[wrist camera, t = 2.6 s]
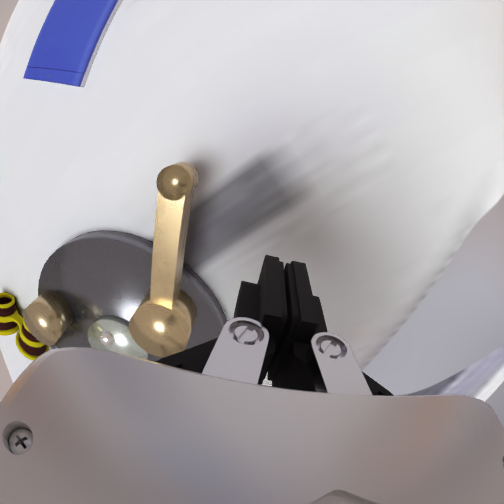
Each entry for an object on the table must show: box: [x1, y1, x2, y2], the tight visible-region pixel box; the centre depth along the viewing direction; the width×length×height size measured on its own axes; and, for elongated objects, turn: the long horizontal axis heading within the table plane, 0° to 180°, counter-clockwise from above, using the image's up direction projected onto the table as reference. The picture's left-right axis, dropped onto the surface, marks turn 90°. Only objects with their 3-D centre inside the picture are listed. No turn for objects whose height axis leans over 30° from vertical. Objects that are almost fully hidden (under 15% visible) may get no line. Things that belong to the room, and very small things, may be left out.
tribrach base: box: [23, 231, 227, 362], centre depth 24 cm, size 21×21×5 cm
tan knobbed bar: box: [129, 162, 199, 358], centre depth 18 cm, size 14×4×3 cm, turn 168°
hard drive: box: [24, 0, 122, 87], centre depth 14 cm, size 2×8×12 cm
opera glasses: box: [0, 293, 49, 360], centre depth 26 cm, size 10×5×5 cm, turn 67°
